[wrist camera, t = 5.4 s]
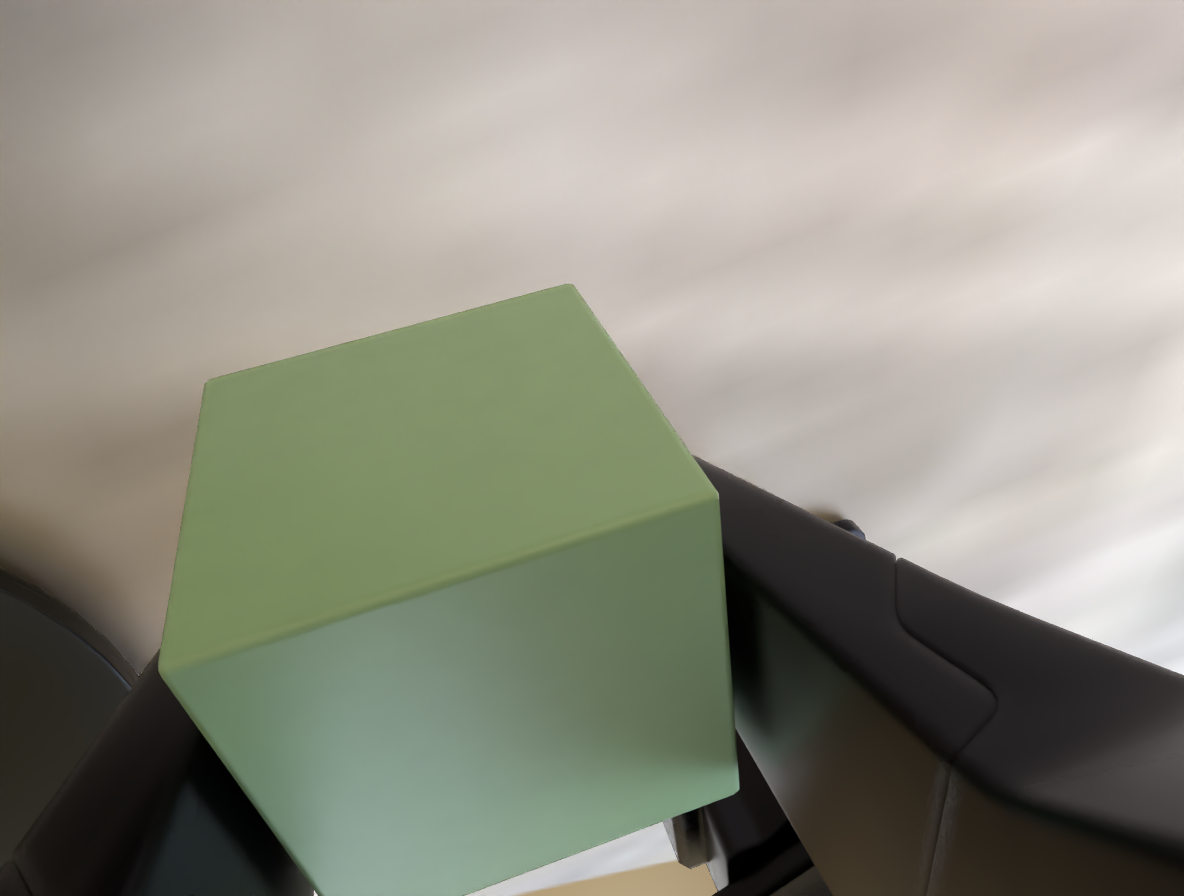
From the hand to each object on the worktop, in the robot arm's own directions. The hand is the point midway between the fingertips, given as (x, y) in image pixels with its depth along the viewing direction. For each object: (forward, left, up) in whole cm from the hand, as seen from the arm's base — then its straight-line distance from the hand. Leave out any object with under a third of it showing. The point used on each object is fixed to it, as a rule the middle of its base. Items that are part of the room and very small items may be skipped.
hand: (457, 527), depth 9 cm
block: (0, 0, -1) cm, 1 cm away
